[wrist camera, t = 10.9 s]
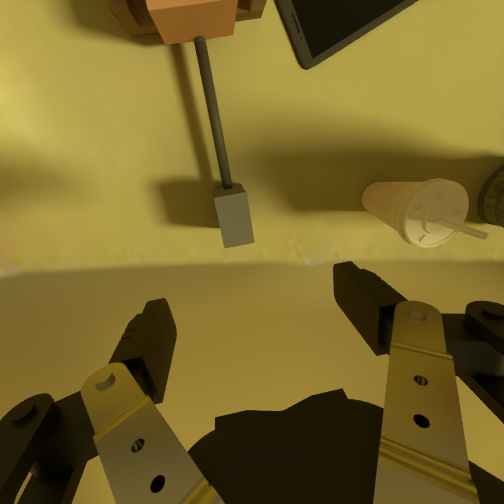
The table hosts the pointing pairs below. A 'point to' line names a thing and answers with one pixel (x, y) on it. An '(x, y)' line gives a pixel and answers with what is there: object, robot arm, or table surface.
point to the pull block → (209, 95)
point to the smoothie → (421, 210)
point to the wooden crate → (141, 23)
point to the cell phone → (332, 24)
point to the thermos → (493, 199)
